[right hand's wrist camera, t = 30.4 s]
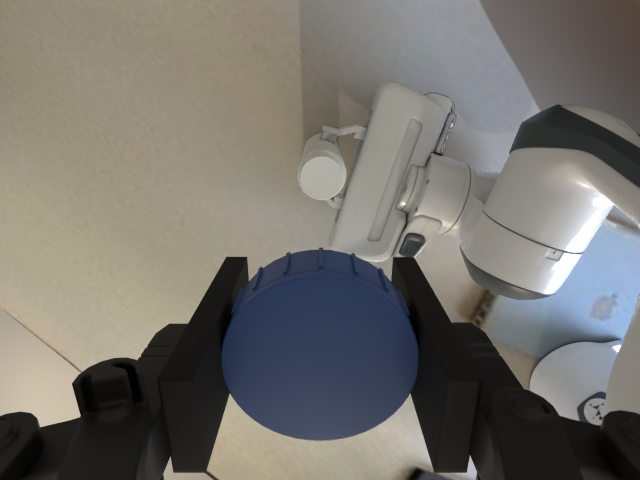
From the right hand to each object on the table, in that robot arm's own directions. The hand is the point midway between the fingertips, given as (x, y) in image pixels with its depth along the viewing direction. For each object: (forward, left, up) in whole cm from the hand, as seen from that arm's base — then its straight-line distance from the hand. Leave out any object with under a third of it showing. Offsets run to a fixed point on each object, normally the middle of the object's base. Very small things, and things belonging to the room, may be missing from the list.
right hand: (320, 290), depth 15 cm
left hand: (0, -1, -32) cm, 32 cm away
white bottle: (0, 0, -38) cm, 38 cm away
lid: (0, 0, +4) cm, 4 cm away
